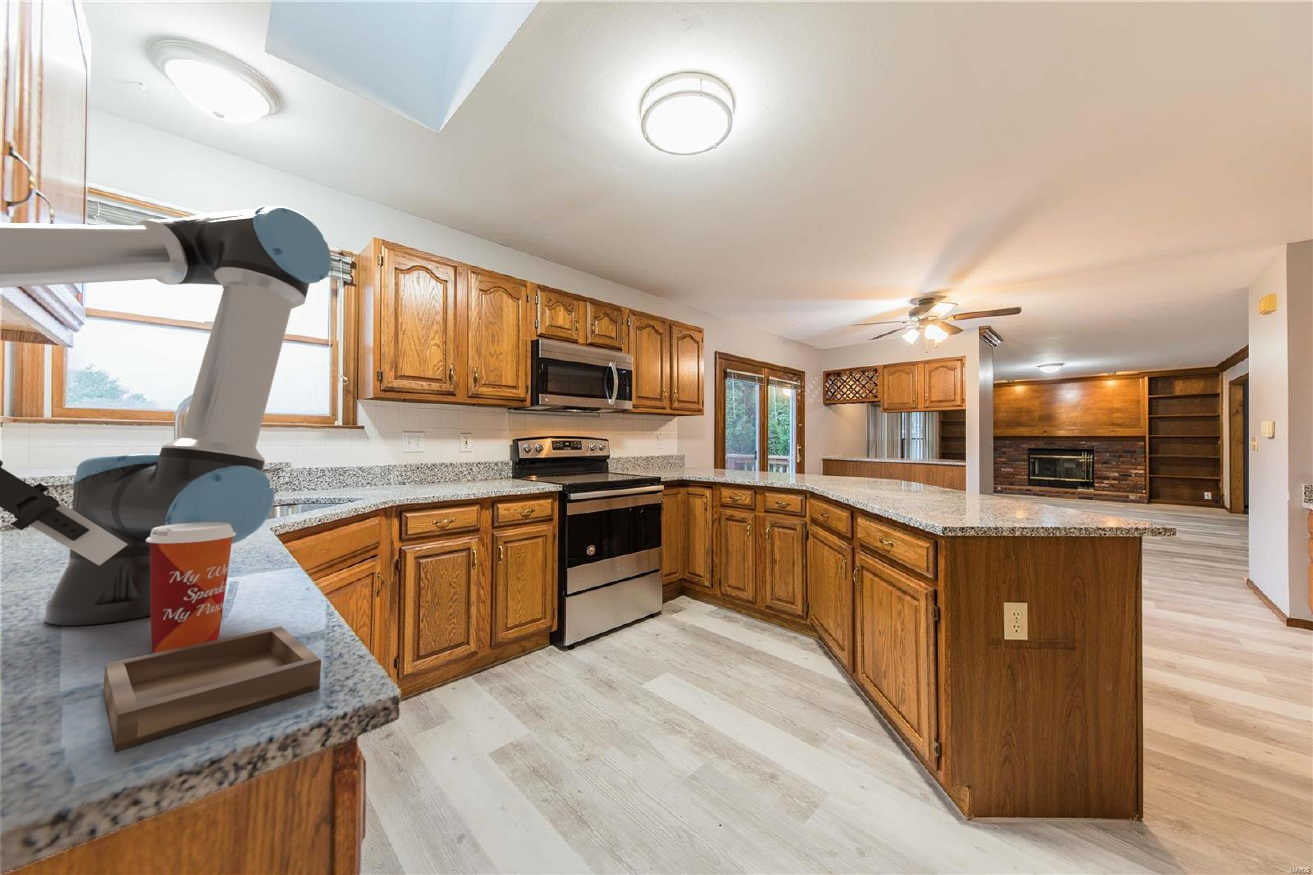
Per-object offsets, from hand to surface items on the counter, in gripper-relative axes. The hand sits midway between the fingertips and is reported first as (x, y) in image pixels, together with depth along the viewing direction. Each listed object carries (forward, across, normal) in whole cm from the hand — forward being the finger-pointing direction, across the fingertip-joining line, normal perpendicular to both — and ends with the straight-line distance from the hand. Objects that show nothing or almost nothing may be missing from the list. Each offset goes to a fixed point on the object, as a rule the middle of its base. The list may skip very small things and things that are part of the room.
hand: (101, 546), depth 54 cm
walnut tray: (+14, +17, -5) cm, 22 cm away
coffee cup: (+15, 0, -4) cm, 16 cm away
